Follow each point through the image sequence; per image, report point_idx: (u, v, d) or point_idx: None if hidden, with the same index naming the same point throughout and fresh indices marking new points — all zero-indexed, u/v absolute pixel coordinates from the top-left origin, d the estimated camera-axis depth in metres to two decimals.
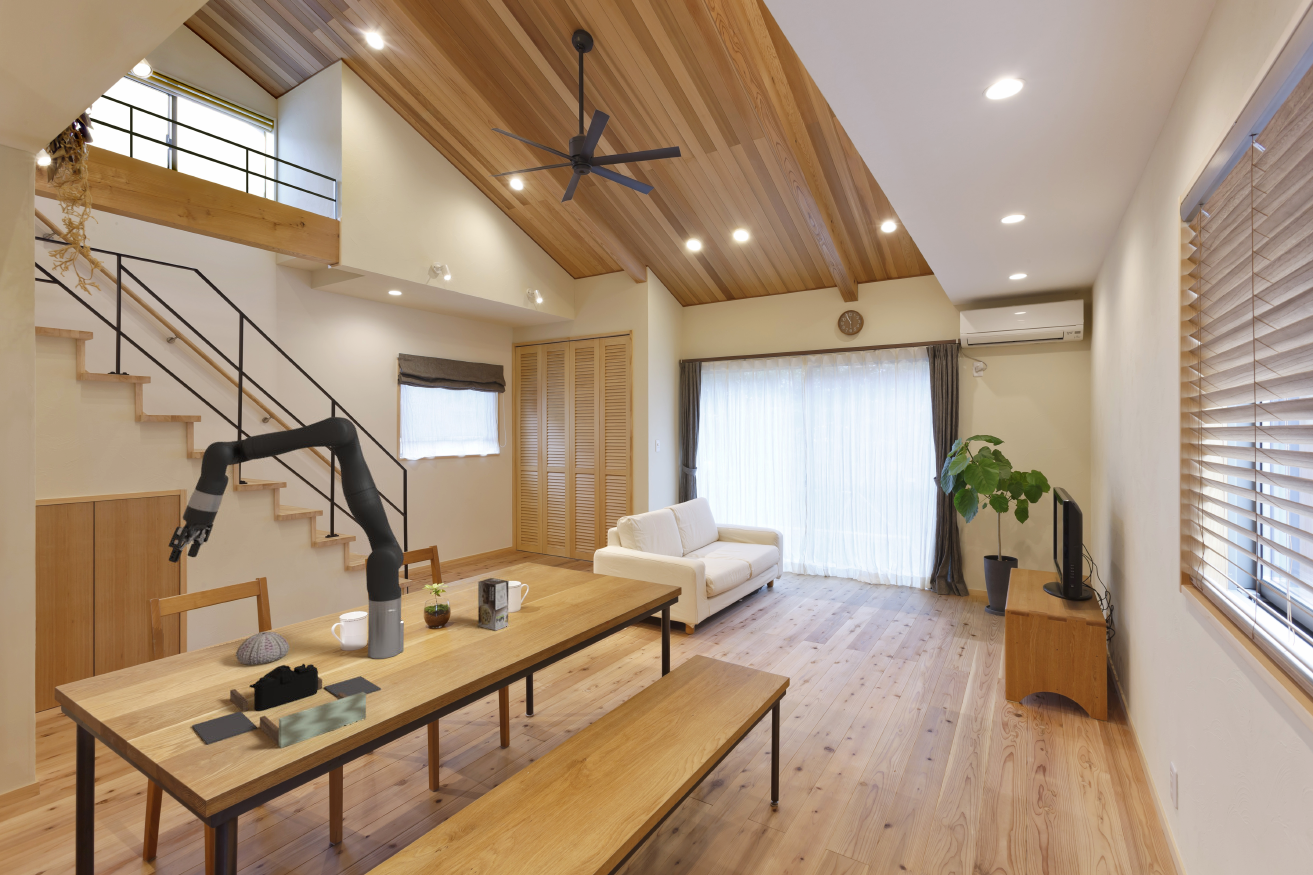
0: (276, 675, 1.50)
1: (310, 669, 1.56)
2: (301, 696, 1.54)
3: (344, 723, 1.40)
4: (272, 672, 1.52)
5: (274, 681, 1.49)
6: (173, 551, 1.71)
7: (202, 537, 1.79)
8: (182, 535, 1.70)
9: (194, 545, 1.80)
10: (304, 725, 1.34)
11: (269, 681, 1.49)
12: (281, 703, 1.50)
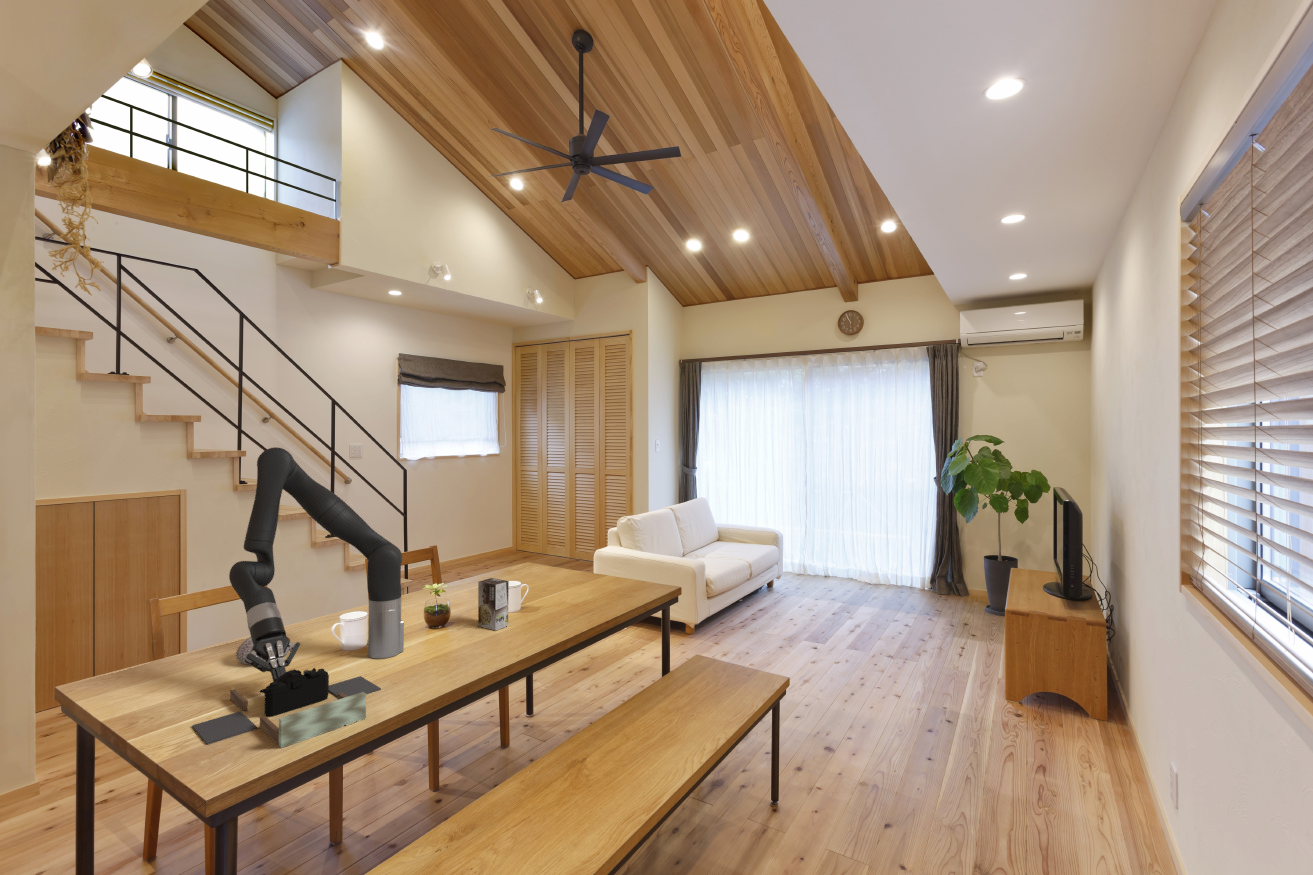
0: (287, 680, 1.48)
1: (321, 673, 1.53)
2: (312, 701, 1.51)
3: (344, 723, 1.40)
4: (282, 677, 1.49)
5: (284, 686, 1.46)
6: (272, 673, 1.55)
7: (279, 651, 1.58)
8: (252, 659, 1.53)
9: None
10: (304, 725, 1.34)
11: (279, 686, 1.46)
12: (292, 708, 1.48)
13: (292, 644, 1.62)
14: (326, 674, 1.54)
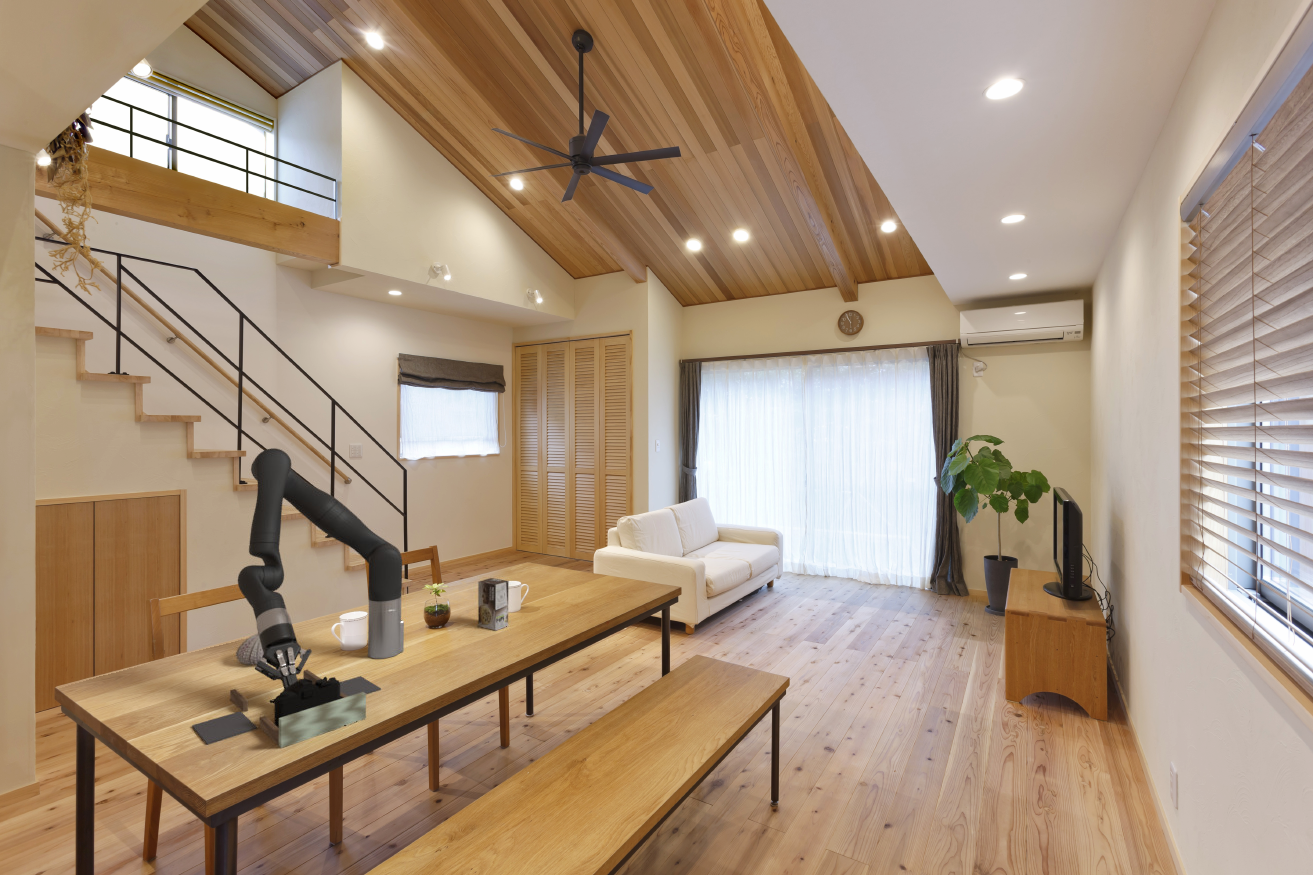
0: (298, 689, 1.42)
1: (332, 682, 1.48)
2: None
3: (344, 723, 1.40)
4: (293, 686, 1.44)
5: (295, 696, 1.41)
6: (283, 681, 1.50)
7: (290, 659, 1.53)
8: (263, 667, 1.48)
9: None
10: (304, 725, 1.34)
11: (290, 696, 1.40)
12: None
13: (303, 651, 1.57)
14: (338, 683, 1.49)
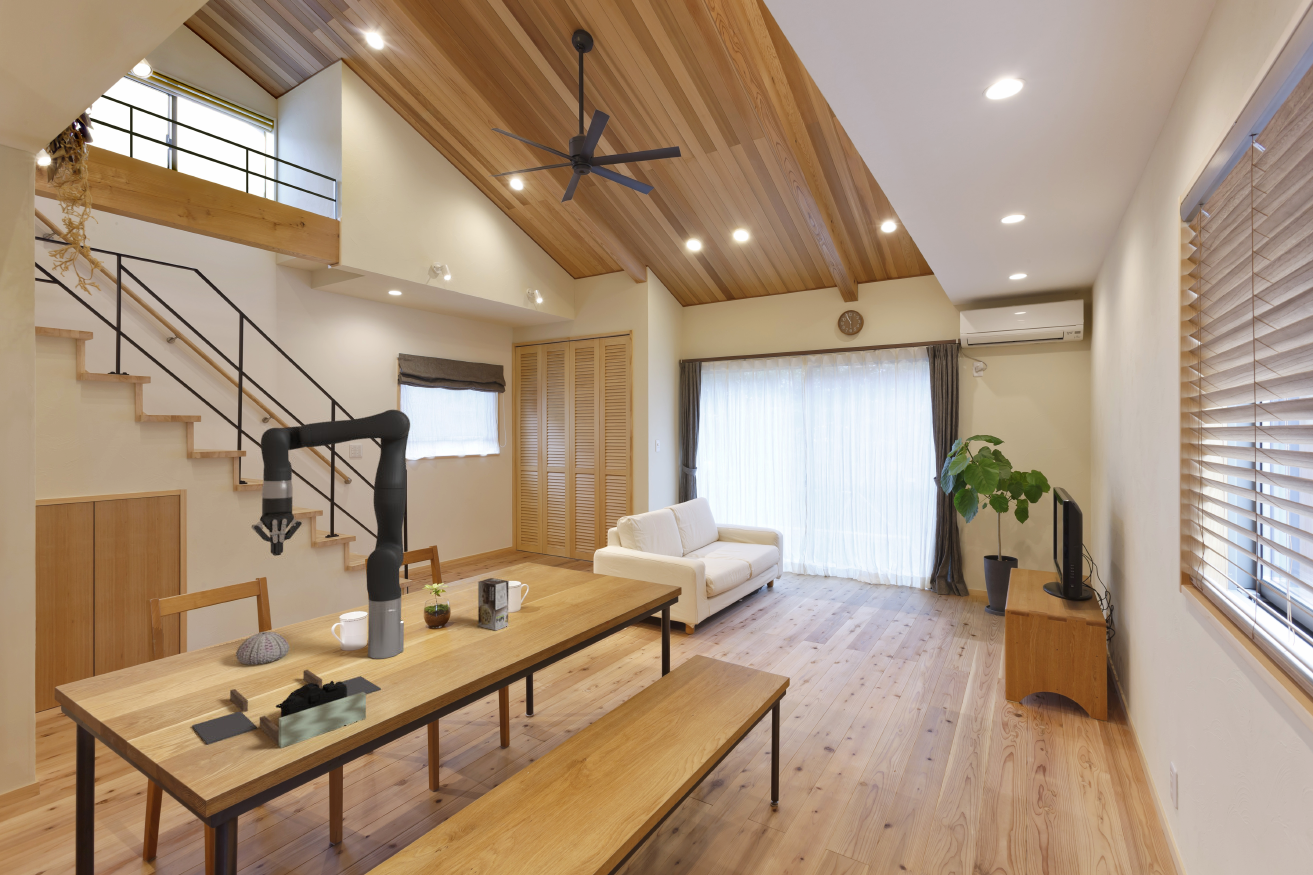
0: (304, 694, 1.40)
1: (339, 687, 1.45)
2: None
3: (344, 723, 1.40)
4: (299, 690, 1.42)
5: (302, 701, 1.39)
6: (271, 545, 1.76)
7: (282, 529, 1.76)
8: (258, 531, 1.72)
9: None
10: (304, 725, 1.34)
11: (296, 700, 1.38)
12: None
13: (295, 521, 1.80)
14: (345, 687, 1.46)
